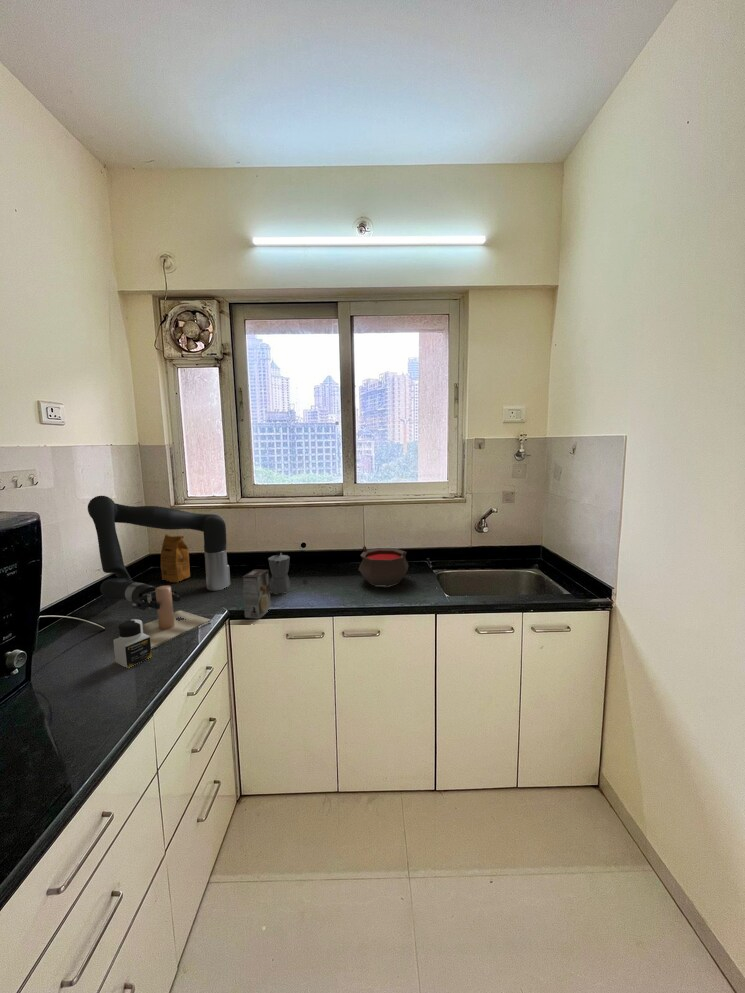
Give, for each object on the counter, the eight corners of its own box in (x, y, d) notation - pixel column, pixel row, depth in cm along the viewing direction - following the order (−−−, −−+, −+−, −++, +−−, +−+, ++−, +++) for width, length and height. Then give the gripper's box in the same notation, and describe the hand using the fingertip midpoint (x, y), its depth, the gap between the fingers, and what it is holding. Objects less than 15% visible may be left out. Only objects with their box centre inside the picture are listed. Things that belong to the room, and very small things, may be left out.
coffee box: (256, 608, 155) (254, 568, 153) (271, 609, 153) (269, 569, 151) (244, 618, 146) (241, 576, 144) (260, 619, 145) (257, 577, 143)
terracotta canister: (169, 622, 140) (165, 584, 139) (177, 625, 138) (173, 586, 136) (156, 627, 136) (152, 589, 134) (164, 630, 134) (160, 591, 132)
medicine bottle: (127, 669, 113) (123, 629, 111) (115, 662, 116) (111, 624, 115) (152, 657, 119) (148, 620, 117) (139, 651, 122) (136, 615, 121)
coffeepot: (290, 595, 167) (288, 554, 165) (267, 597, 166) (265, 555, 164) (292, 583, 183) (291, 545, 180) (271, 584, 181) (270, 546, 179)
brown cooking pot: (418, 579, 186) (418, 545, 184) (393, 595, 166) (393, 557, 164) (375, 571, 199) (375, 539, 197) (347, 585, 179) (347, 550, 177)
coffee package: (176, 574, 198) (172, 532, 195) (193, 577, 193) (190, 533, 190) (158, 580, 189) (154, 536, 187) (175, 584, 184) (172, 538, 181)
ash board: (180, 613, 151) (180, 610, 151) (211, 622, 142) (211, 619, 142) (120, 637, 132) (120, 633, 132) (151, 650, 123) (151, 646, 123)
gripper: (119, 590, 136) (147, 599, 128) (159, 578, 149) (187, 585, 140) (121, 611, 137) (149, 621, 129) (161, 597, 150) (188, 605, 141)
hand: (169, 602), depth 135 cm, fingers open, 6 cm apart
